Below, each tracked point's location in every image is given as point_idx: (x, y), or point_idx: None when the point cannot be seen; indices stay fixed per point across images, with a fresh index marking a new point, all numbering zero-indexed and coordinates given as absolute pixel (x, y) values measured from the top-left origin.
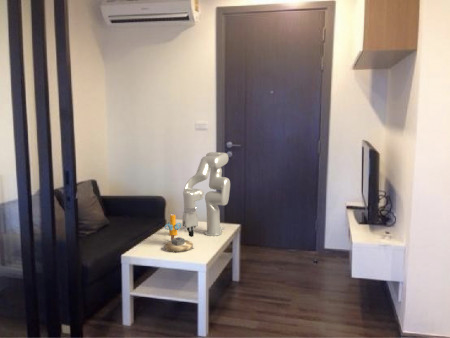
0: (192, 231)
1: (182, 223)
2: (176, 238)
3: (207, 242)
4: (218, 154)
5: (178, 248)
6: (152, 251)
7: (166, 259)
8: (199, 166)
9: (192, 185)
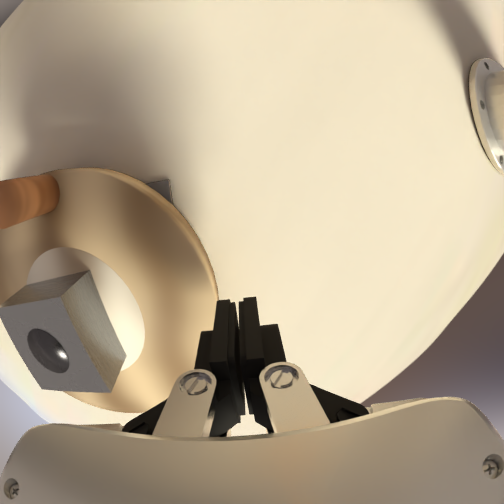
0: (253, 412)
1: (5, 484)
2: (32, 331)
3: (392, 279)
4: None
5: (70, 392)
6: None
7: (29, 402)
8: None
9: None
